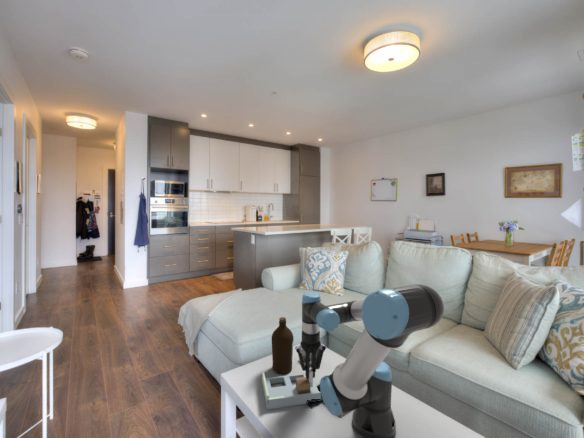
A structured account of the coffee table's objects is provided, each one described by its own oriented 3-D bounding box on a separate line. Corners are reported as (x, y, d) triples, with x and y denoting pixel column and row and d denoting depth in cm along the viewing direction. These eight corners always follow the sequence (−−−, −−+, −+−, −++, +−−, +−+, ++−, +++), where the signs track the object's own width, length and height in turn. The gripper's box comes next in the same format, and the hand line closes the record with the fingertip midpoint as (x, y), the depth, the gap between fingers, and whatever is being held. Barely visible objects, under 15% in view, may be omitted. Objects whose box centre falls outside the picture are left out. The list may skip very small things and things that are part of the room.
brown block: (310, 393, 116) (310, 383, 116) (298, 394, 115) (298, 385, 115) (307, 385, 121) (307, 376, 121) (295, 387, 120) (295, 378, 120)
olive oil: (274, 377, 131) (274, 324, 129) (269, 364, 141) (269, 315, 139) (296, 372, 134) (296, 321, 133) (289, 361, 144) (289, 313, 143)
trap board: (320, 401, 115) (320, 388, 114) (266, 409, 110) (266, 396, 110) (309, 377, 130) (309, 366, 130) (262, 383, 126) (262, 372, 125)
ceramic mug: (307, 353, 151) (307, 339, 151) (320, 358, 147) (321, 344, 146) (297, 363, 142) (297, 349, 141) (311, 368, 138) (311, 353, 137)
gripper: (323, 325, 122) (322, 377, 124) (293, 327, 120) (293, 381, 121) (328, 333, 115) (327, 388, 116) (297, 336, 112) (296, 392, 114)
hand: (310, 384), depth 119 cm, fingers closed
